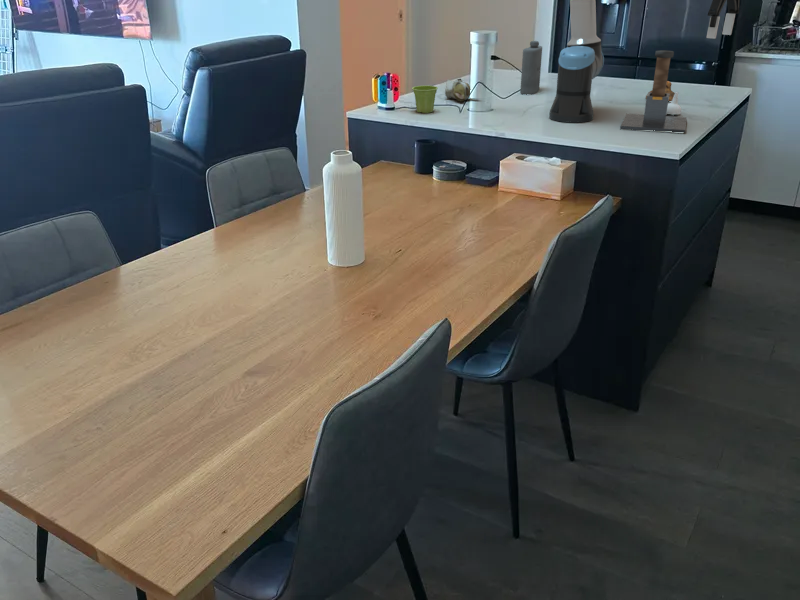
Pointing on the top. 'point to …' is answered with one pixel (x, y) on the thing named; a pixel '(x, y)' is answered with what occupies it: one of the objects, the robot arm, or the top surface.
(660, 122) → the sleeve stand
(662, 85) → the post
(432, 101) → the plant pot
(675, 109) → the garlic bulb
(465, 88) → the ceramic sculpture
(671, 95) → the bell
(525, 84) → the flask
